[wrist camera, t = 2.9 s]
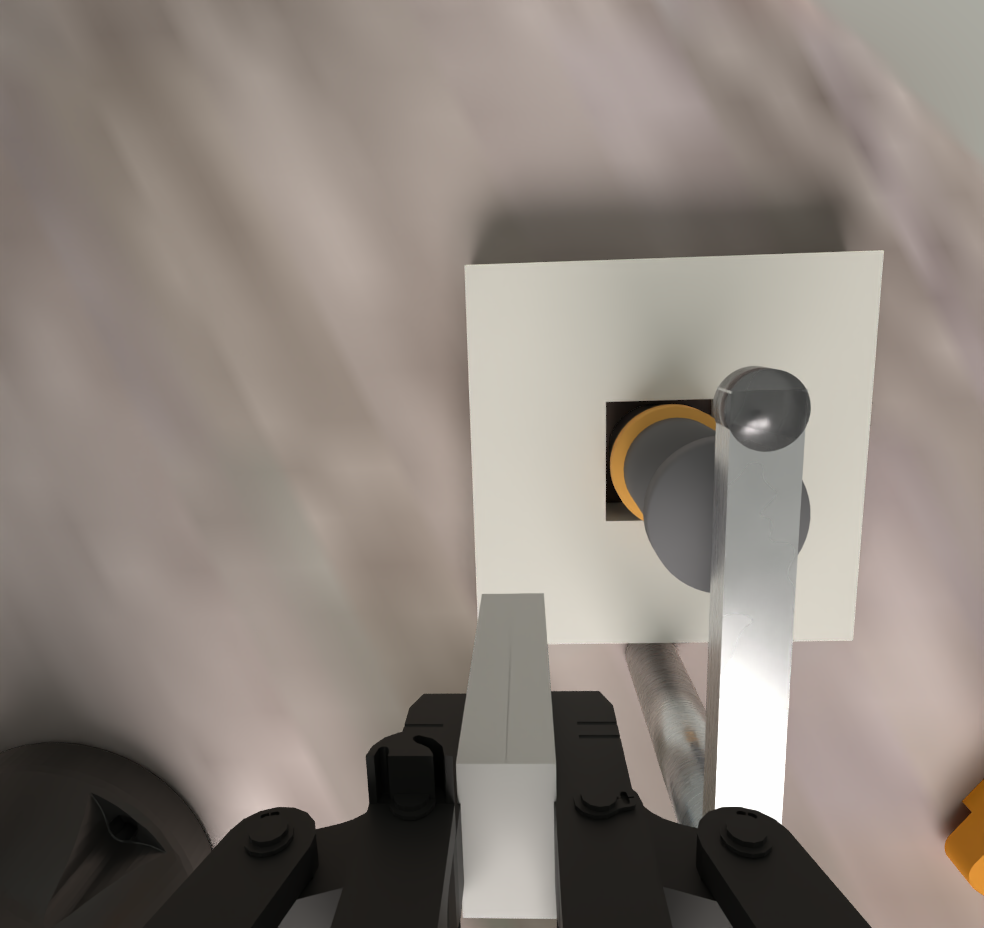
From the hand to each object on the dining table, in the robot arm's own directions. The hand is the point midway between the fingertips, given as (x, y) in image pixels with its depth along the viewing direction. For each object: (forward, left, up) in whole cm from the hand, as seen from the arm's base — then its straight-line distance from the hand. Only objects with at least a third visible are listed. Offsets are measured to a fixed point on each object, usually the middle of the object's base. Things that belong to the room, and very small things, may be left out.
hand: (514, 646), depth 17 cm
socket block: (+6, +2, -15) cm, 17 cm away
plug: (+6, +2, -15) cm, 17 cm away
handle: (+6, -1, -15) cm, 16 cm away
